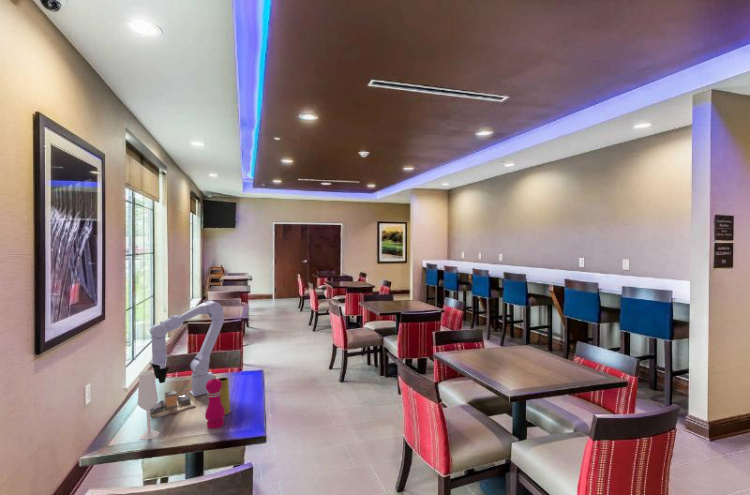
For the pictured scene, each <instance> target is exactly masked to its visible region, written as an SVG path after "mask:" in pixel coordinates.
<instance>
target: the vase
mask: <svg viewBox="0 0 750 495" xmlns="http://www.w3.org/2000/svg"><path fill="white" fill-rule="evenodd" d="M217 379H219V380H221V382H222V388H221V389H220V390H221V395H220V401H221V404H222V406H223V408H224V410H225V415H224V416H227V415H230V413H231V402H230V399H231V398H230V387H229V386H230V385H229V378H228V377H217Z"/></svg>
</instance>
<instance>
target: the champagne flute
mask: <svg viewBox="0 0 750 495" xmlns="http://www.w3.org/2000/svg"><path fill="white" fill-rule="evenodd" d="M138 378H139V380H138V394H137V405H138V406H139V407H140V409H142V410H144V411H146V427H147V430H146V431H145V432H143V433H142V434H141V435H140V436H139V439H140V440H144V441H147V440H151V439H154V438H156V437H158V436H159V435H160V432H159V431H157V430H153V429H152V424H151V422H152V421H151V420H152V418H151V415H150V410H151V409H152V408H153V407H154V406H155V405H156V403H158V401H159V397H158V391H157V384H156V376H155V372H154V370H143V371H141V372H140V373H139V376H138Z"/></svg>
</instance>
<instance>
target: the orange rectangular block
mask: <svg viewBox="0 0 750 495" xmlns="http://www.w3.org/2000/svg"><path fill="white" fill-rule="evenodd" d="M177 396H178V392H176V390H171V391H168V392H164V402H165V407H166V409H171V408H175V407H177Z"/></svg>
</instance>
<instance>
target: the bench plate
mask: <svg viewBox="0 0 750 495" xmlns="http://www.w3.org/2000/svg"><path fill="white" fill-rule="evenodd" d="M194 408H196V404H195V403H194V402H193V401H192V400H191V403H190V404H186V405H181V404H178V401H177V407H175V408H171V409H166V407H165V409H163V412H160V413H157V414H152V413H150V418H151V419H155V418H158V417H159V418H160V417H164V416H167V415H171V414H175V413H179V412H182V411H187V410H190V409H194Z"/></svg>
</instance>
